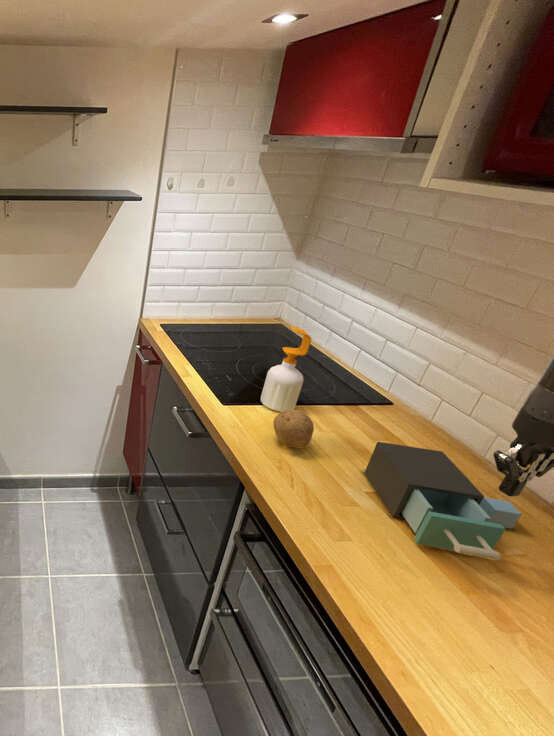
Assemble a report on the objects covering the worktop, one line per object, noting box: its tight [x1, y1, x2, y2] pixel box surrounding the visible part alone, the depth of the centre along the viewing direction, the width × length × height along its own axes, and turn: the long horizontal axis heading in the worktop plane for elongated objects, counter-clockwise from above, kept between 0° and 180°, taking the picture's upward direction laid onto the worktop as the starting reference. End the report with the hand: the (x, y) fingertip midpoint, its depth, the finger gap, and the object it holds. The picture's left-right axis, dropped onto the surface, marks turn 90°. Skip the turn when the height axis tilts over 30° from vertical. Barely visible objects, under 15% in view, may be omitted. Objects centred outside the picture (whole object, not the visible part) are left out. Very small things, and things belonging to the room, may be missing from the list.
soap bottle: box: [260, 325, 312, 413], centre depth 127 cm, size 9×9×25 cm
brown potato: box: [273, 409, 315, 449], centre depth 113 cm, size 9×9×10 cm
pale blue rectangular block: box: [479, 496, 522, 530], centre depth 92 cm, size 4×4×4 cm
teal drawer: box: [401, 488, 506, 561], centre depth 87 cm, size 18×11×7 cm, turn 165°
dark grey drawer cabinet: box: [363, 441, 485, 521], centre depth 96 cm, size 14×13×9 cm
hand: (507, 492), depth 81 cm, fingers closed
